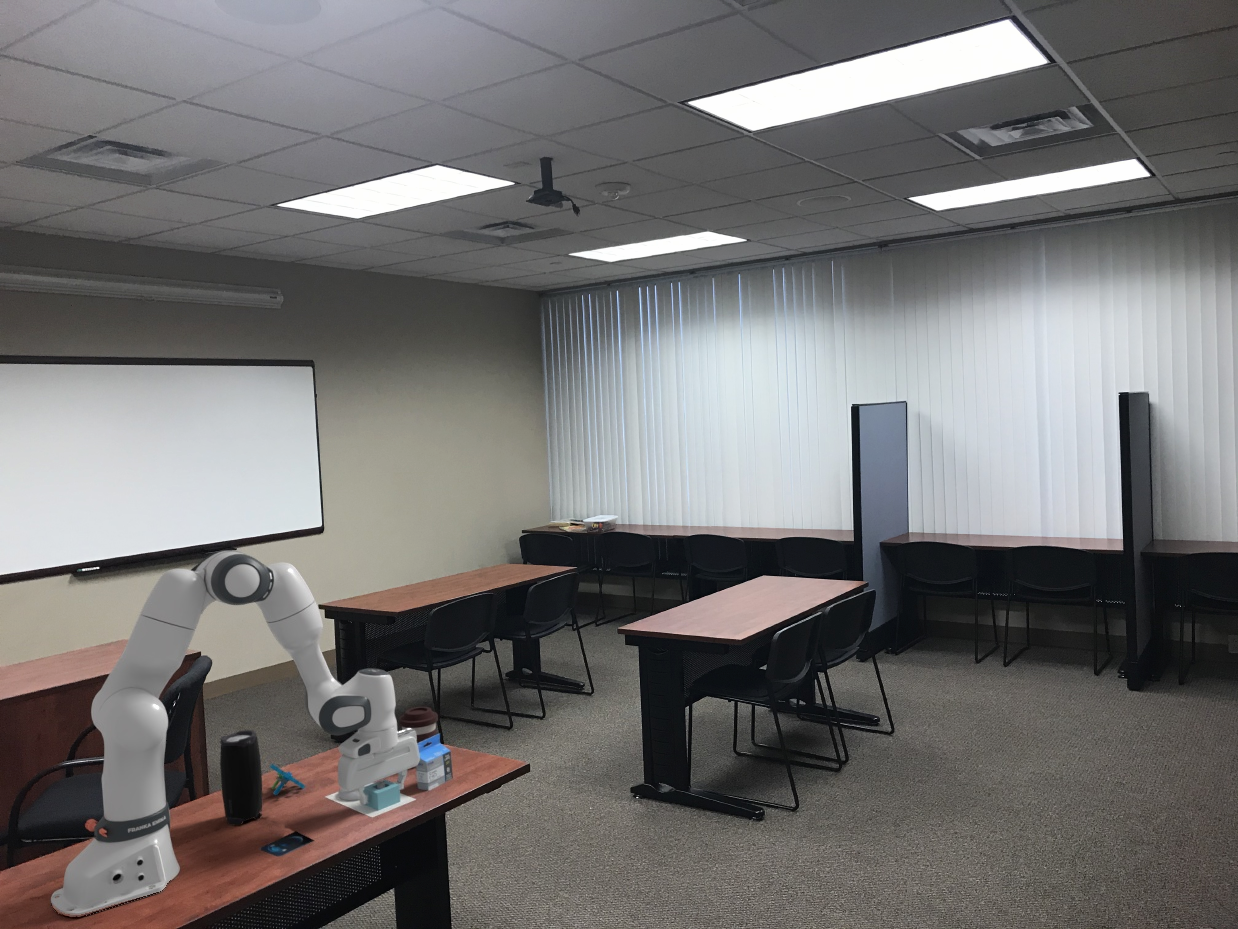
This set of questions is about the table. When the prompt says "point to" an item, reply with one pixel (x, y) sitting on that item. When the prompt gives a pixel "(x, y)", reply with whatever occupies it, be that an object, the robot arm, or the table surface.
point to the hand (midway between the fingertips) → (382, 796)
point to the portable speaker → (241, 776)
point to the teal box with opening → (382, 795)
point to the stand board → (353, 802)
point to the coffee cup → (420, 722)
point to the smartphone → (286, 844)
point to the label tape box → (433, 764)
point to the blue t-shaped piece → (284, 779)
